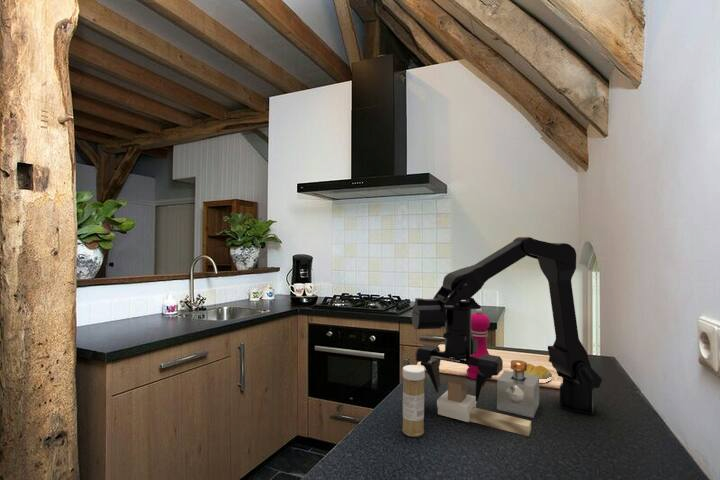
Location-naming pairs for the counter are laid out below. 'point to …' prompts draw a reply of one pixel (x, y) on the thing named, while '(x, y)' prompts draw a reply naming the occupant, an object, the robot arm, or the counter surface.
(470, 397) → the carriage
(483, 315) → the pepper mill
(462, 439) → the counter surface
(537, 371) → the bread roll
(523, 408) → the cabinet
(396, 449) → the counter surface
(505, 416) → the rail
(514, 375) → the plunger
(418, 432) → the sprinkles bottle
